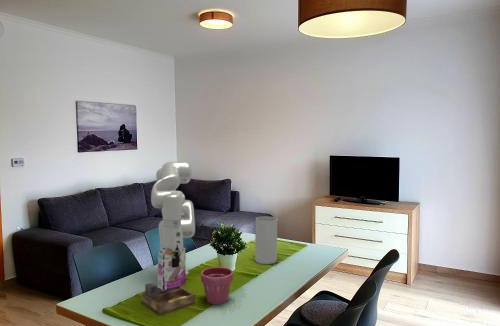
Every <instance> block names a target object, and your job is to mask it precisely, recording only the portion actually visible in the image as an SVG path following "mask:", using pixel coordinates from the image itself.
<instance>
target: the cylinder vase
mask: <svg viewBox="0 0 500 326" xmlns="http://www.w3.org/2000/svg"><path fill="white" fill-rule="evenodd" d="M254 238H255V243H254V246H255V247H254V258H255V259H254V260H255V262H256V263H257V264H262V265H271V264H275V263H277V259H278V257H277V256H278V255H277V253H278V218H277V217H276V216H275V217H274V216H265V215H264V216H258V217H255V237H254Z"/></svg>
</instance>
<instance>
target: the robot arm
mask: <svg viewBox="0 0 500 326" xmlns="http://www.w3.org/2000/svg"><path fill="white" fill-rule="evenodd" d="M192 170H193V169H192V166H191V164H190V163H189V162H187V161H168V162H165V163H164V164H163V165H162V166H161V168H159V169H158V170H157V171H156V174H155V177H156V179H155V180H156V182H155V183H154V185H153V186H152V189H151V194H150V199H151V200H150V201H151V205H152V207H153V208H155V209H161V215H162V220H161V221H160V222H159V223H158V233H159V234H158V235H159V240H160V241H159V242H160V244H159V245H160V250H162V249H168V250H170V251H172V255H173V258H172V268H175V267H179V258H180V255H181V254H182V253H183V251H182V250H183V247H184V239H190V238H193V237H194V236H195V233H196V221H195V210H194V209H195V208H194V203H193V202H192V200H189V199H186V196H185V194H184V193H183V191H181V190H176V189H178V187H179V186H180V184H182V185H183V184H188V183H189V182H190V181H191V178H192V173H193V171H192ZM175 249H177V250H175ZM175 252H177V253H176V254H175ZM186 276H189V270H185V277H186ZM157 281H158V279H157ZM157 281H156V282H157Z"/></svg>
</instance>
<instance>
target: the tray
mask: <svg viewBox="0 0 500 326" xmlns="http://www.w3.org/2000/svg"><path fill="white" fill-rule="evenodd" d="M144 287H145V288H144V289H145V292H141V296H140V297H141V303H142V304H144V305H145V306H146V307H147V308H149V309H150V310H151V311H153V312H154V313H156V314H157V315H158V316H162V315H165V314H168V313H171V312H174V311H177V310H180V309H183V308H186V307H189V306H193V305H195V304H196V294H195V293H193V292H191V291H190V290H188V289H186V288H184V287H182V286H179V287H175V288H172V289H169V290H165V291H162V290H160V289H158V281H153V282H151V283H146V284H144Z"/></svg>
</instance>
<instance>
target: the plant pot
mask: <svg viewBox="0 0 500 326" xmlns="http://www.w3.org/2000/svg"><path fill="white" fill-rule="evenodd" d="M233 271H234V270H232V269H231V268H229V267H224V266H213V267H207V268H205V269H203V270H201V273H200V282H201V283H202V284H203V289H204V295H205V298H206V301H207V302H208V303H209V304H212V305H219V304H220V305H221V304H223V303H224V304H225V303H226V302H227V301H228V297H229V294H230V293H229V292H230V290H231V289H230V288H231V283H232V282H233V281H234V272H233Z"/></svg>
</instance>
